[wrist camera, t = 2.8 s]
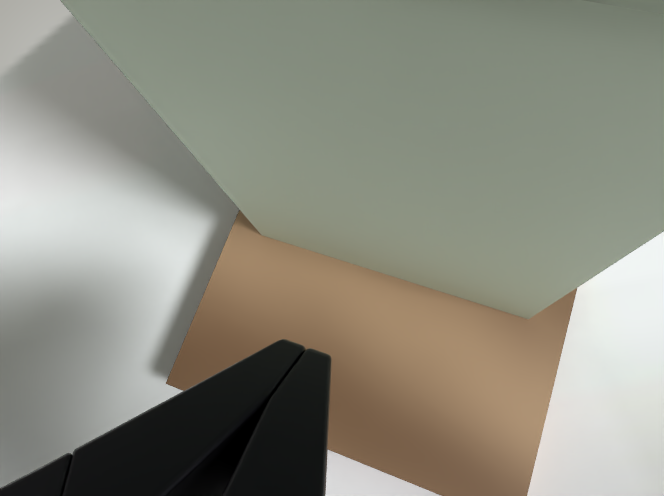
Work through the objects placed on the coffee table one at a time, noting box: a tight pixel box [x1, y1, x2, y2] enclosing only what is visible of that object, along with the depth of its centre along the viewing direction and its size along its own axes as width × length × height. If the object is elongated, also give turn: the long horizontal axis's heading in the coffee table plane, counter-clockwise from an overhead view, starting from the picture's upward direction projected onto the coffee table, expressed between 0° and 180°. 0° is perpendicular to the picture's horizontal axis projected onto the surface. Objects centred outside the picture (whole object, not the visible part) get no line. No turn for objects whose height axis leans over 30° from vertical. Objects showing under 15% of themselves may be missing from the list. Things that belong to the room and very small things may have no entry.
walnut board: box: [166, 210, 577, 496], centre depth 15 cm, size 14×10×1 cm
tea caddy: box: [60, 0, 664, 319], centre depth 10 cm, size 8×8×12 cm
